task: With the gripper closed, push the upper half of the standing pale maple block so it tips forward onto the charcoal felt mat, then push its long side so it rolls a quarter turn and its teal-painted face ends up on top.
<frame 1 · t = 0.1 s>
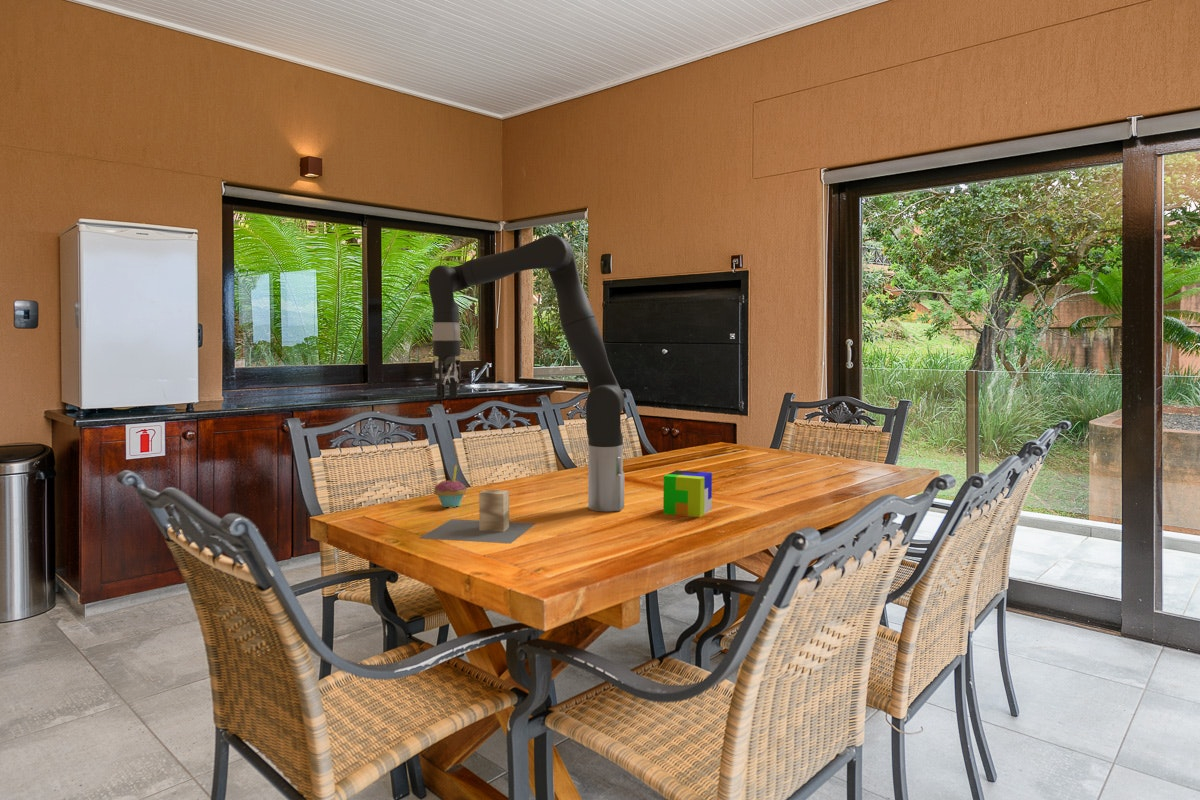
hand: (447, 397, 213), 29 cm above the table, tool pointing down, fingers open, 8 cm apart
block: (494, 529, 182), resting on mat
cupcake: (450, 506, 209), on the table
mat: (479, 531, 181), on the table
puzzle toy: (687, 512, 203), on the table
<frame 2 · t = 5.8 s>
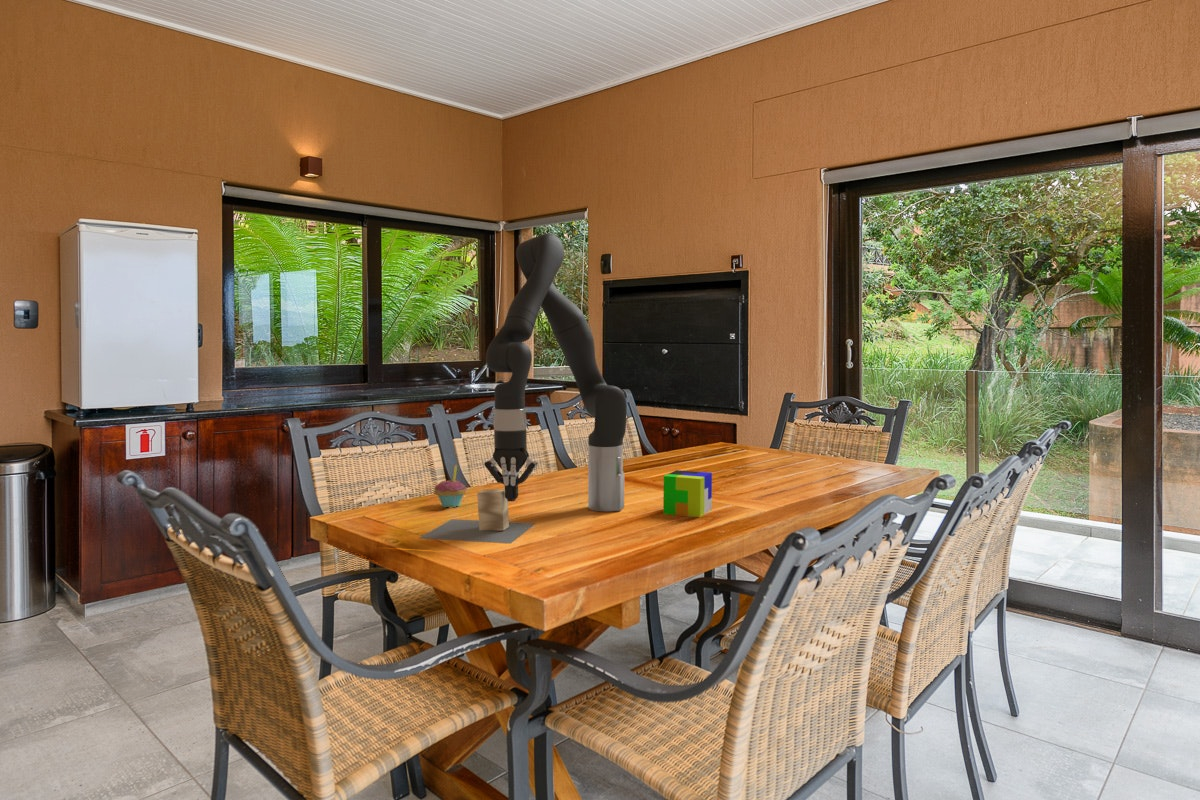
hand: (511, 500, 181), 7 cm above the table, tool pointing down, fingers closed
block: (494, 528, 182), resting on mat, touching gripper
everything else where it was.
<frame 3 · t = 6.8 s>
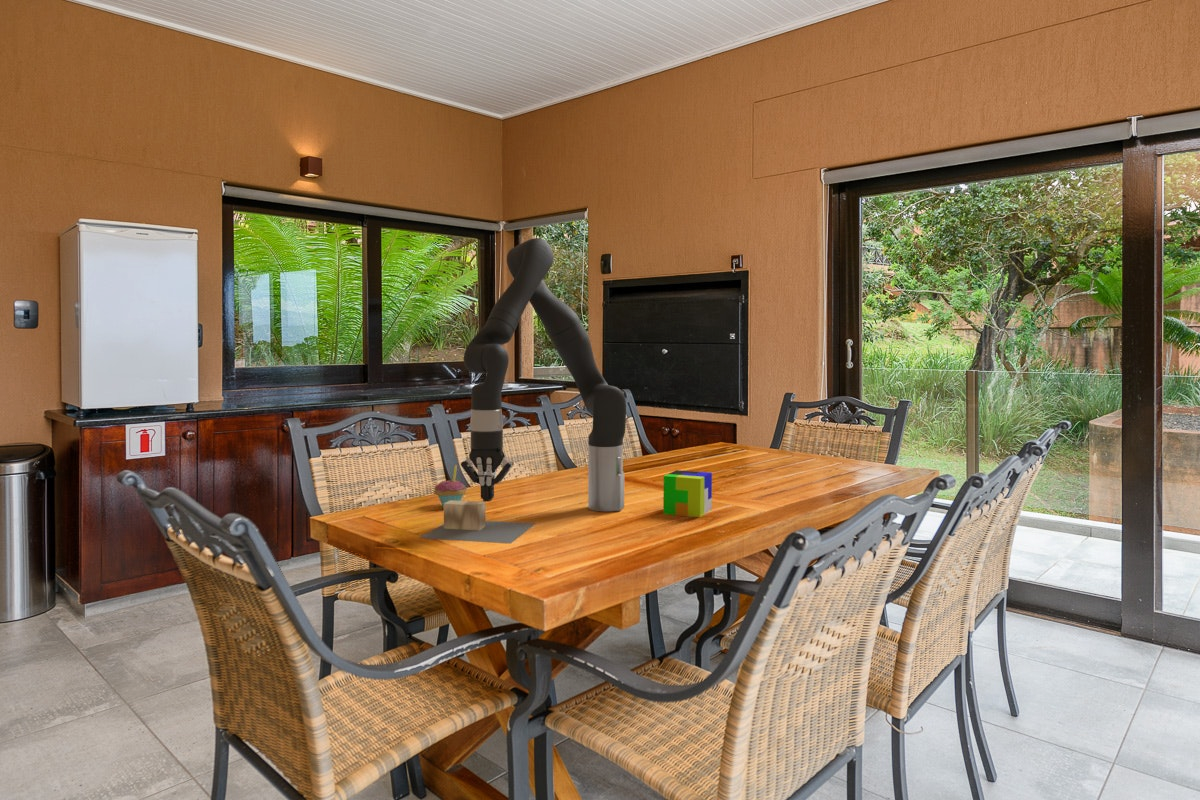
hand: (487, 500, 182), 7 cm above the table, tool pointing down, fingers closed
block: (482, 516, 183), point 3 cm above the table, tilted 90°, touching mat
everything else where it was.
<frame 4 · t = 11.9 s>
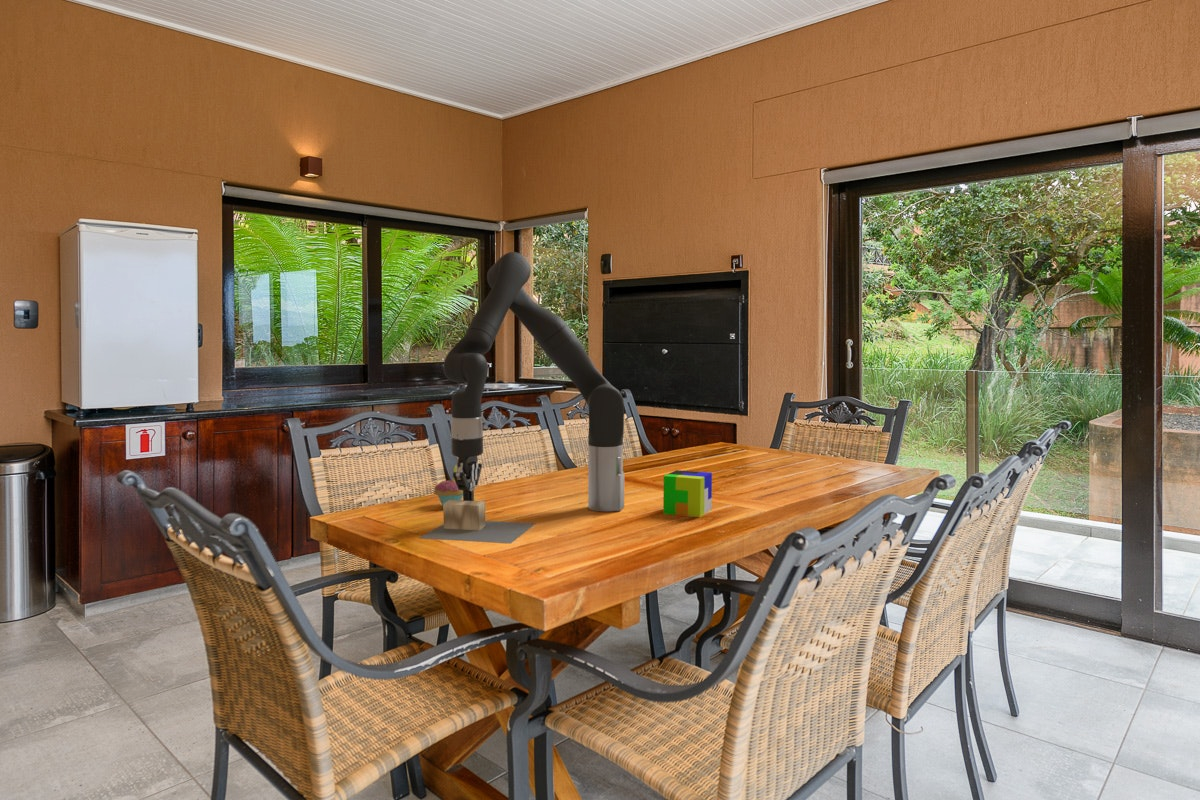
hand: (468, 505, 187), 5 cm above the table, tool pointing down, fingers closed
block: (482, 515, 183), point 3 cm above the table, tilted 90°, touching gripper, mat
everything else where it was.
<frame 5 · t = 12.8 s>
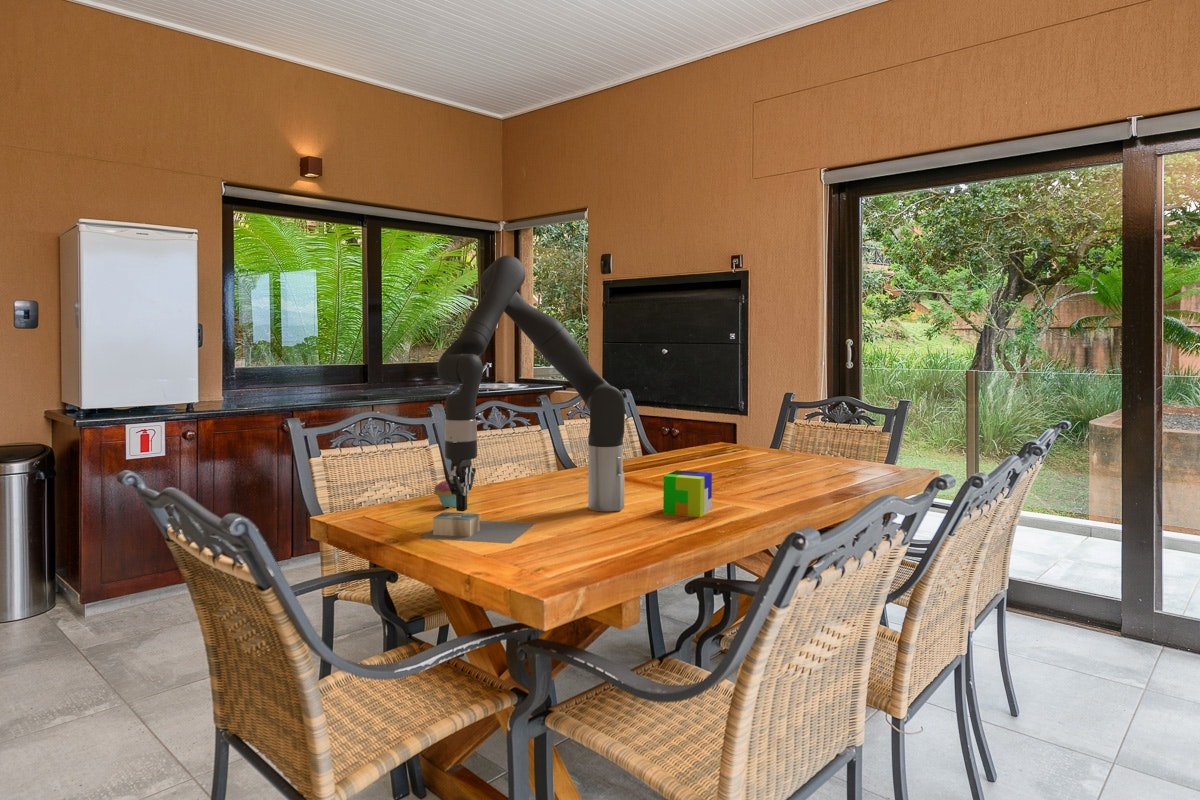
hand: (461, 510, 182), 5 cm above the table, tool pointing down, fingers closed
block: (474, 525, 178), point 2 cm above the table, tilted 90°, touching mat
everything else where it was.
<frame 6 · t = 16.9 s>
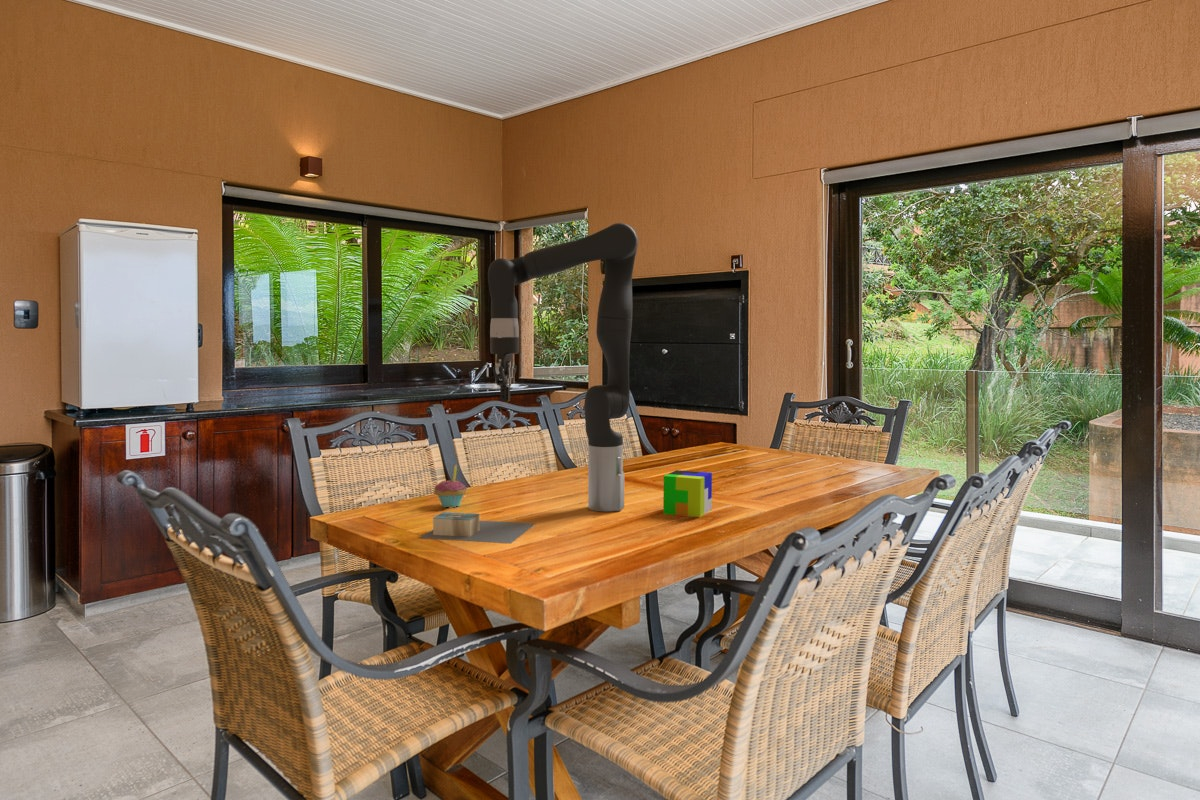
hand: (505, 401, 204), 29 cm above the table, tool pointing down, fingers closed
nothing on the table moved.
at the end: block tilted 90°; block inside the target area (1.8 cm from its centre), point 2.3 cm above the table; block moved 6.2 cm from its start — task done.
